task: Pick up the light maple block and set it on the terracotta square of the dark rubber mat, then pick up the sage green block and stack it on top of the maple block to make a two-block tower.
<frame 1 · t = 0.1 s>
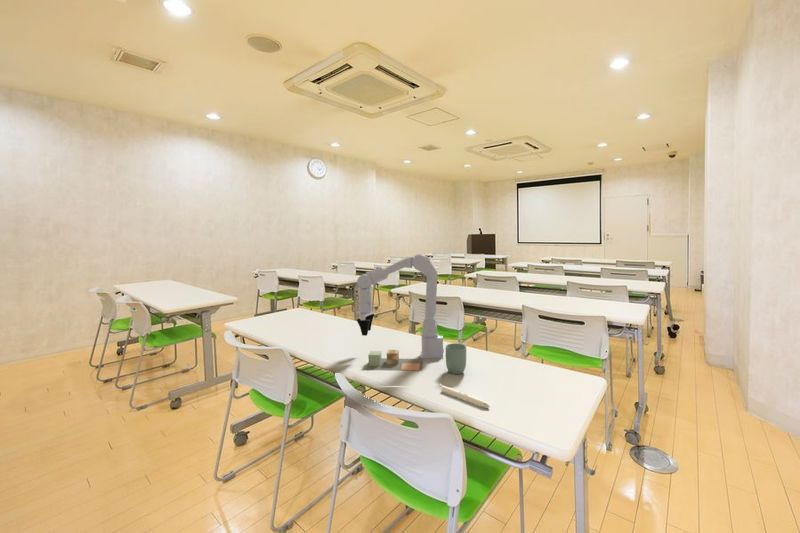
hand: (366, 332, 156), 10 cm above the table, tool pointing down, fingers open, 7 cm apart
sage block: (375, 363, 145), resting on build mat
cup: (456, 372, 136), on the table
maple block: (392, 362, 146), resting on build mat
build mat: (394, 365, 144), on the table
marker: (465, 401, 113), on the table
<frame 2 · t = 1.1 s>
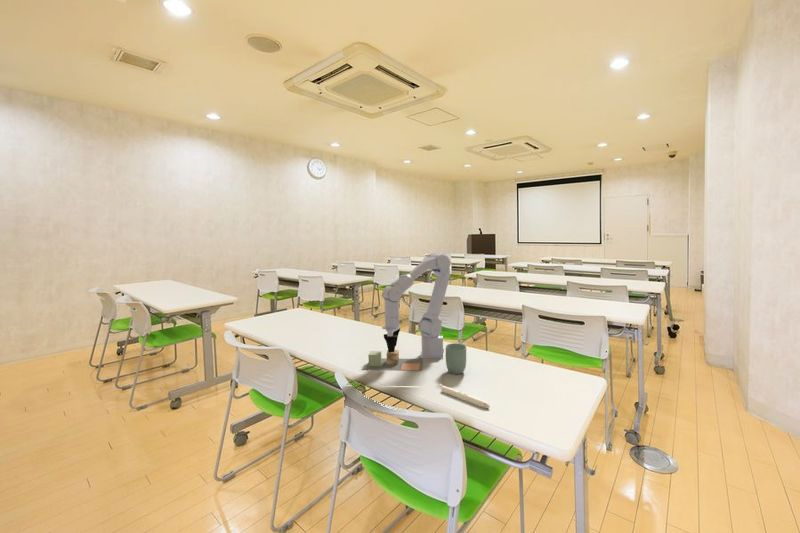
hand: (392, 348, 145), 6 cm above the table, tool pointing down, fingers open, 7 cm apart
nothing on the table moved.
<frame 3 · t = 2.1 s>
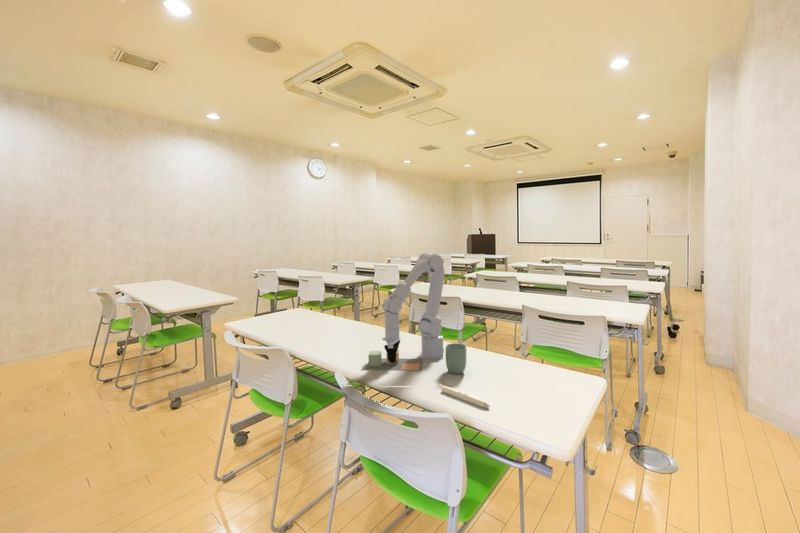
hand: (392, 360, 146), 1 cm above the table, tool pointing down, fingers closed on maple block, 4 cm apart
maple block: (392, 362, 146), resting on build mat, touching gripper
everything else where it was.
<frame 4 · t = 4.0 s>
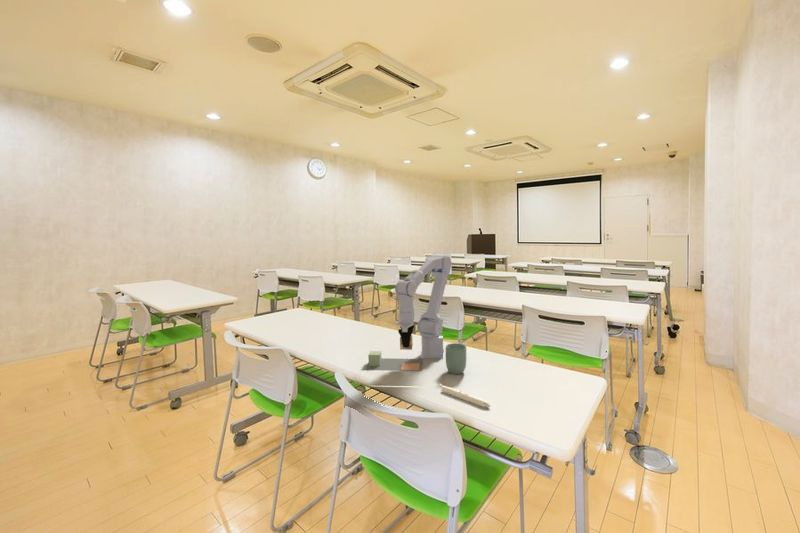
hand: (406, 345, 141), 9 cm above the table, tool pointing down, fingers closed on maple block, 4 cm apart
maple block: (406, 347, 141), point 8 cm above the table, touching gripper
everything else where it was.
when the fingers open (2 cm above the table, at t = 5.9 s): maple block stays where it is, resting on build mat.
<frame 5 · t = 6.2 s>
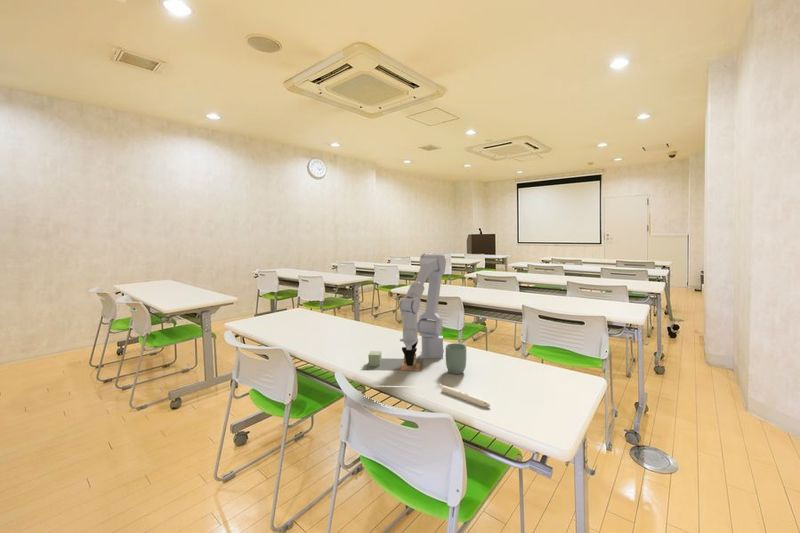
hand: (410, 362, 141), 2 cm above the table, tool pointing down, fingers open, 7 cm apart
maple block: (410, 366, 141), point 1 cm above the table, touching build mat
everything else where it was.
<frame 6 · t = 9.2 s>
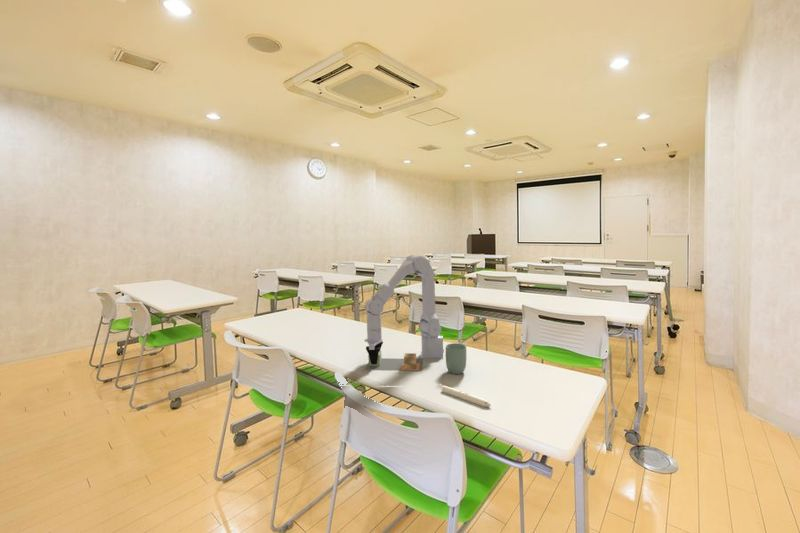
hand: (375, 361, 145), 1 cm above the table, tool pointing down, fingers closed on sage block, 4 cm apart
sage block: (375, 363, 145), resting on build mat, touching gripper
everything else where it was.
when the fingers open (7 cm above the table, at t = 12.7 s): sage block stays where it is, resting on maple block.
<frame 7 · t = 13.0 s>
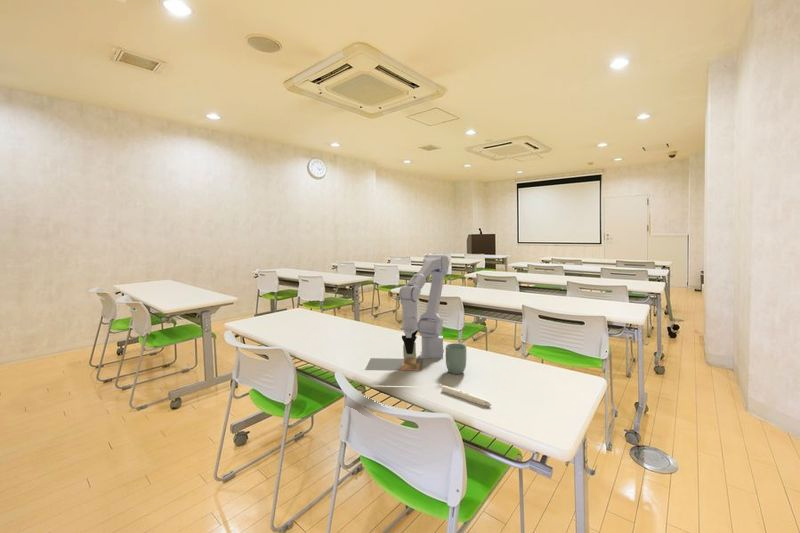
hand: (410, 350, 140), 7 cm above the table, tool pointing down, fingers open, 7 cm apart
sage block: (409, 355, 140), point 5 cm above the table, touching maple block
maple block: (410, 366, 141), point 1 cm above the table, touching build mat, sage block
everything else where it was.
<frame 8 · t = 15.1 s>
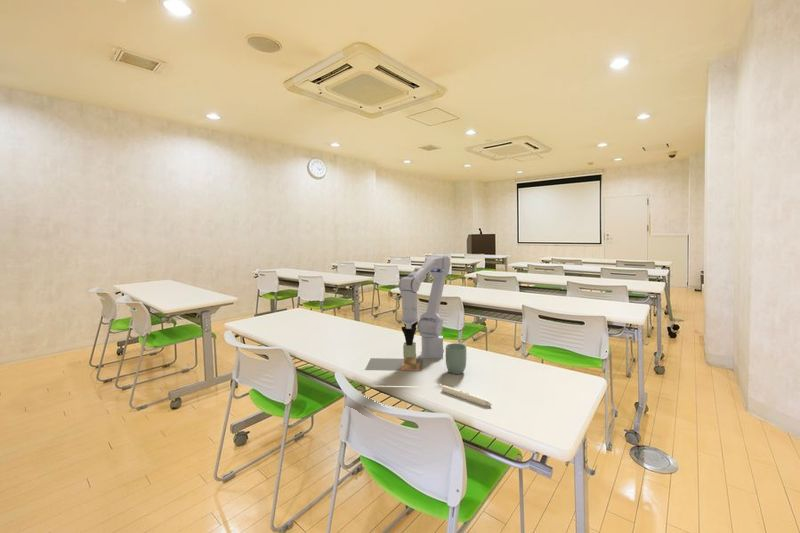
hand: (410, 342, 140), 10 cm above the table, tool pointing down, fingers open, 7 cm apart
nothing on the table moved.
at the end: maple block 0.1 cm from the target spot, point 0.6 cm above the table; sage block 0.1 cm off-centre on the maple block, point 4.5 cm above the maple block's base; sage block tilted 0° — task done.
